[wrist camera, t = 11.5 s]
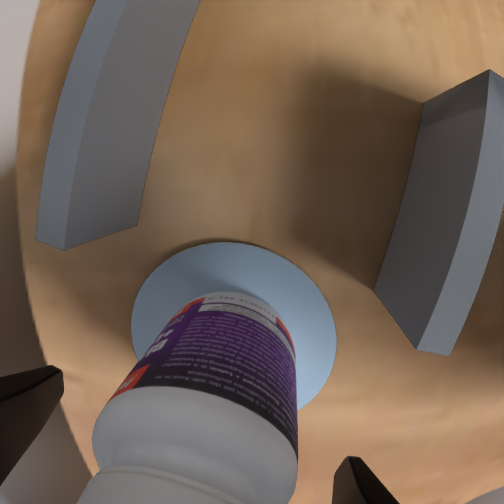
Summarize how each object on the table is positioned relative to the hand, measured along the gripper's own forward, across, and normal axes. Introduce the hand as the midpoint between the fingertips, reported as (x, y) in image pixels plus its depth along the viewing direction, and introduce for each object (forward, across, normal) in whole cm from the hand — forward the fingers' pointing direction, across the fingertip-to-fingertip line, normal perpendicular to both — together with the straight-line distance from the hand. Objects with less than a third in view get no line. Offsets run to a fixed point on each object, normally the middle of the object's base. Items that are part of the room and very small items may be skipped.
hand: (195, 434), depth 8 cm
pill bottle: (+6, 0, 0) cm, 6 cm away
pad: (+6, 0, 0) cm, 6 cm away
